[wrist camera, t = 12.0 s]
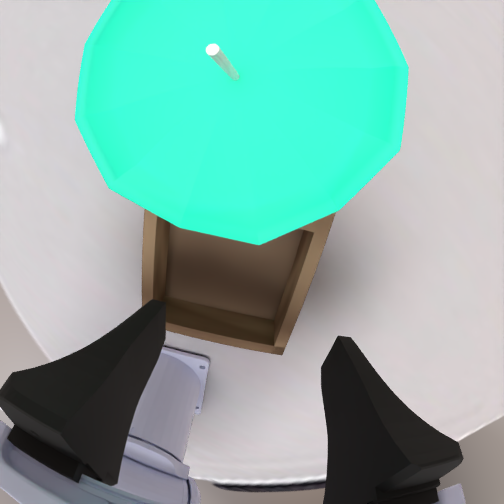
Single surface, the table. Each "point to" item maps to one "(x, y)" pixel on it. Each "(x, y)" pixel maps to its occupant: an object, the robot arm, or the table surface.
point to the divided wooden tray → (230, 282)
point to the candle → (241, 108)
